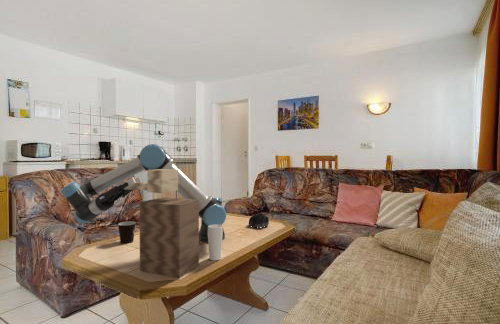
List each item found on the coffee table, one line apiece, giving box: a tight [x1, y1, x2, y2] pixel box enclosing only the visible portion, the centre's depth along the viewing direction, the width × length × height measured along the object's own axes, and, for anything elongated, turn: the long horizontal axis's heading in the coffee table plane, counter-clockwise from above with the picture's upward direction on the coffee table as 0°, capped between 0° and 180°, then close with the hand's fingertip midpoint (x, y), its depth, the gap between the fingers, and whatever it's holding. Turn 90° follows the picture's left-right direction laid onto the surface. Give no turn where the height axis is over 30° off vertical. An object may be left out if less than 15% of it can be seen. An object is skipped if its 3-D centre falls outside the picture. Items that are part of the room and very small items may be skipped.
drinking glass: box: [207, 224, 224, 262], centre depth 126 cm, size 7×7×15 cm
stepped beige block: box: [120, 168, 179, 194], centre depth 119 cm, size 25×11×9 cm, turn 70°
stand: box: [139, 196, 200, 279], centre depth 115 cm, size 19×14×28 cm
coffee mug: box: [117, 221, 136, 245], centre depth 151 cm, size 12×9×10 cm
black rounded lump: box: [248, 212, 270, 229], centre depth 185 cm, size 13×14×10 cm
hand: (137, 179), depth 121 cm, fingers closed on stepped beige block, 3 cm apart
